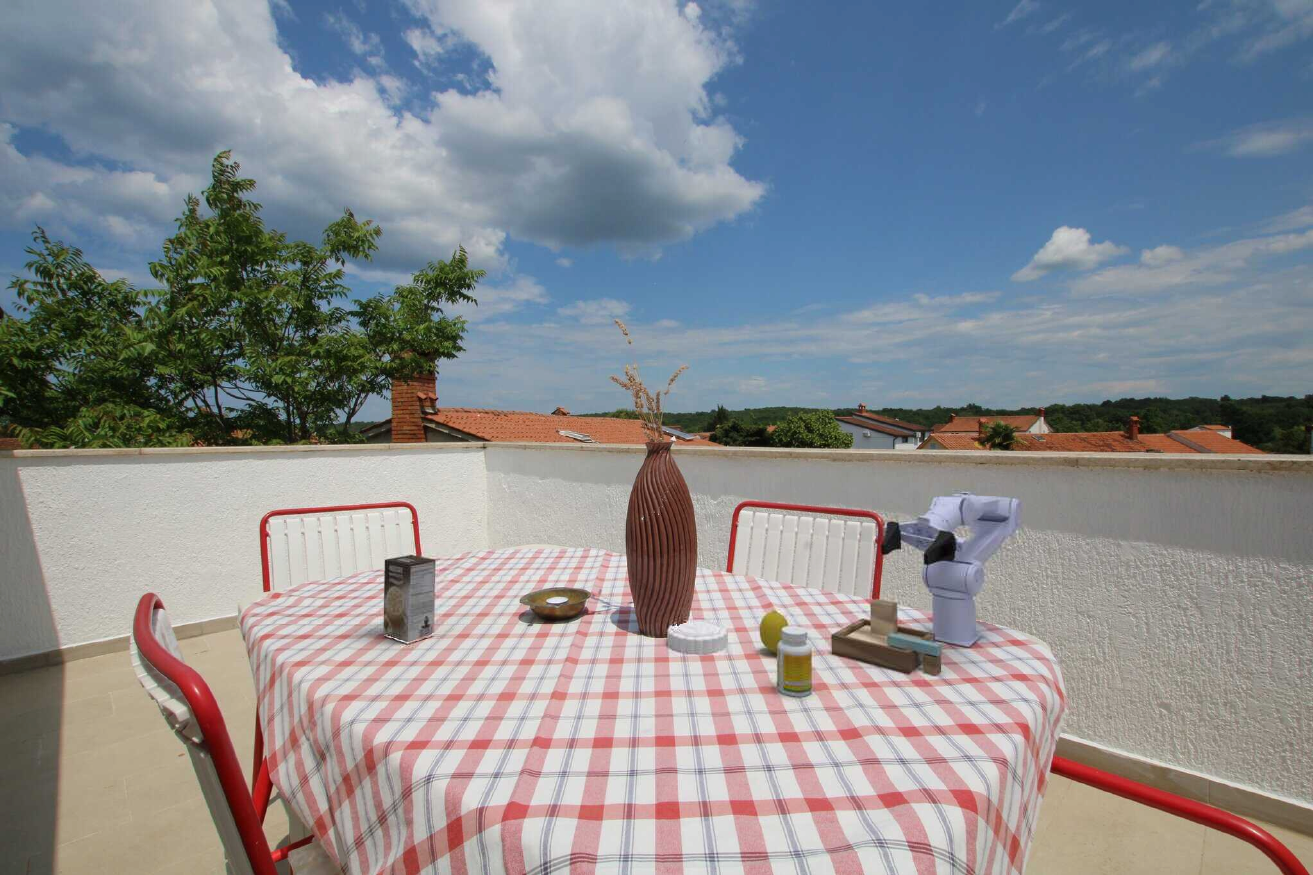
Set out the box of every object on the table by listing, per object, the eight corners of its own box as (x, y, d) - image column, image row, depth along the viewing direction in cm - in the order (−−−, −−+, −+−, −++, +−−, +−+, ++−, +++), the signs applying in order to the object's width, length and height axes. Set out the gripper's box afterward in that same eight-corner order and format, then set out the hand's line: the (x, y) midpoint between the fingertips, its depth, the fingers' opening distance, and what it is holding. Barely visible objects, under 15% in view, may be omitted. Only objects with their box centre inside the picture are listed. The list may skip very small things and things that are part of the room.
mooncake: (740, 647, 107) (740, 629, 107) (692, 660, 100) (692, 640, 100) (701, 631, 117) (701, 614, 117) (655, 642, 110) (655, 624, 110)
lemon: (790, 659, 100) (789, 615, 100) (759, 657, 101) (759, 613, 101) (789, 649, 105) (788, 607, 106) (760, 647, 106) (759, 605, 107)
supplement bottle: (770, 687, 88) (769, 627, 88) (796, 681, 90) (796, 622, 91) (792, 700, 83) (791, 637, 84) (819, 693, 86) (818, 632, 86)
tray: (862, 635, 113) (862, 618, 113) (955, 657, 101) (955, 637, 101) (831, 653, 103) (831, 634, 103) (930, 680, 91) (930, 658, 91)
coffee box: (381, 637, 113) (382, 559, 113) (409, 628, 118) (410, 554, 119) (407, 645, 108) (408, 563, 108) (436, 636, 113) (437, 558, 114)
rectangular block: (891, 641, 100) (891, 632, 100) (941, 653, 94) (941, 643, 94) (887, 644, 99) (887, 635, 99) (937, 656, 93) (937, 646, 93)
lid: (866, 628, 111) (865, 595, 111) (925, 641, 103) (925, 606, 103) (841, 641, 103) (840, 606, 103) (903, 657, 95) (903, 619, 95)
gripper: (896, 502, 111) (864, 526, 103) (974, 514, 100) (945, 543, 92) (898, 533, 113) (866, 560, 104) (975, 549, 102) (946, 580, 93)
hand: (903, 554), depth 98 cm, fingers open, 7 cm apart
